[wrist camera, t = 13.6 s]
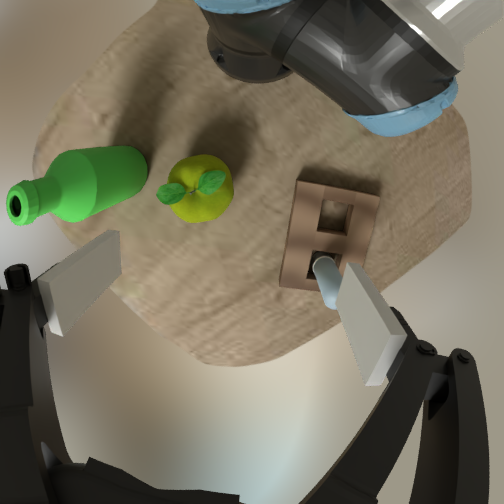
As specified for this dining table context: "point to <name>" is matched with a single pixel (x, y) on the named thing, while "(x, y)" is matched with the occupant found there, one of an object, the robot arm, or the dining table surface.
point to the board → (325, 232)
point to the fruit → (198, 188)
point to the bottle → (79, 184)
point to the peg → (327, 277)
